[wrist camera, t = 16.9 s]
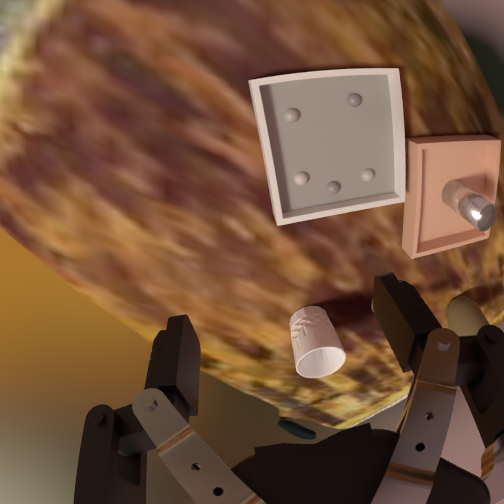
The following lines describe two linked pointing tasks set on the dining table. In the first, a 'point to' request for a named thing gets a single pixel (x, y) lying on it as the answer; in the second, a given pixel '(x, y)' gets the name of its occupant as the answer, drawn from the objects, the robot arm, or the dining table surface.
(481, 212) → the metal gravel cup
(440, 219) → the terracotta bin
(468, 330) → the squeeze bottle
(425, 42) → the dining table surface
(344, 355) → the white cup
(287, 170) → the bin
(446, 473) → the robot arm
